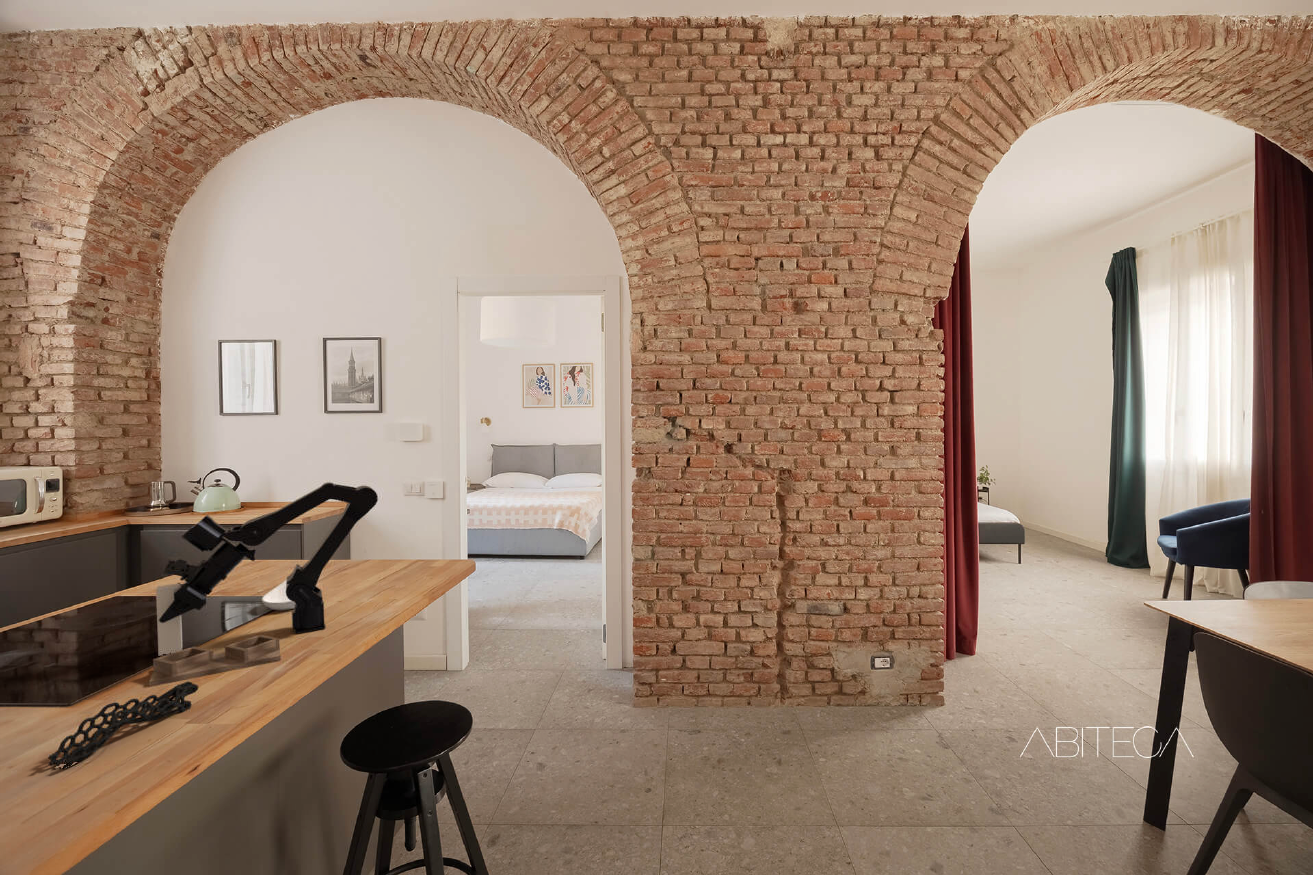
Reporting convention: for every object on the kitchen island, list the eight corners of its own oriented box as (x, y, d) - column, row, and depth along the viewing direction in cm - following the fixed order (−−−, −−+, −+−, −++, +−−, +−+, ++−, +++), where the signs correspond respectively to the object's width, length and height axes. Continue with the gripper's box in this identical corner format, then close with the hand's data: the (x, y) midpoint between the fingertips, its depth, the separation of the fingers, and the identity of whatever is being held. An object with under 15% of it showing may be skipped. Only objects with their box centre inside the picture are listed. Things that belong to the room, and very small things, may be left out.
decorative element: (71, 774, 90) (70, 735, 89) (42, 771, 90) (41, 732, 90) (205, 703, 112) (204, 672, 112) (181, 702, 113) (180, 671, 112)
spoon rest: (303, 612, 165) (302, 586, 165) (255, 616, 162) (254, 590, 162) (327, 589, 188) (327, 566, 188) (285, 592, 185) (284, 569, 185)
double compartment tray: (278, 646, 140) (278, 631, 139) (280, 660, 131) (280, 644, 131) (156, 669, 127) (155, 652, 127) (149, 686, 119) (149, 668, 119)
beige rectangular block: (182, 647, 139) (180, 583, 139) (181, 651, 137) (178, 586, 137) (160, 651, 137) (157, 586, 137) (158, 655, 135) (156, 589, 134)
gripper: (191, 537, 146) (133, 589, 140) (185, 550, 131) (119, 610, 125) (232, 564, 151) (177, 616, 145) (230, 580, 136) (169, 639, 130)
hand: (161, 619), depth 136 cm, fingers closed on beige rectangular block, 3 cm apart
